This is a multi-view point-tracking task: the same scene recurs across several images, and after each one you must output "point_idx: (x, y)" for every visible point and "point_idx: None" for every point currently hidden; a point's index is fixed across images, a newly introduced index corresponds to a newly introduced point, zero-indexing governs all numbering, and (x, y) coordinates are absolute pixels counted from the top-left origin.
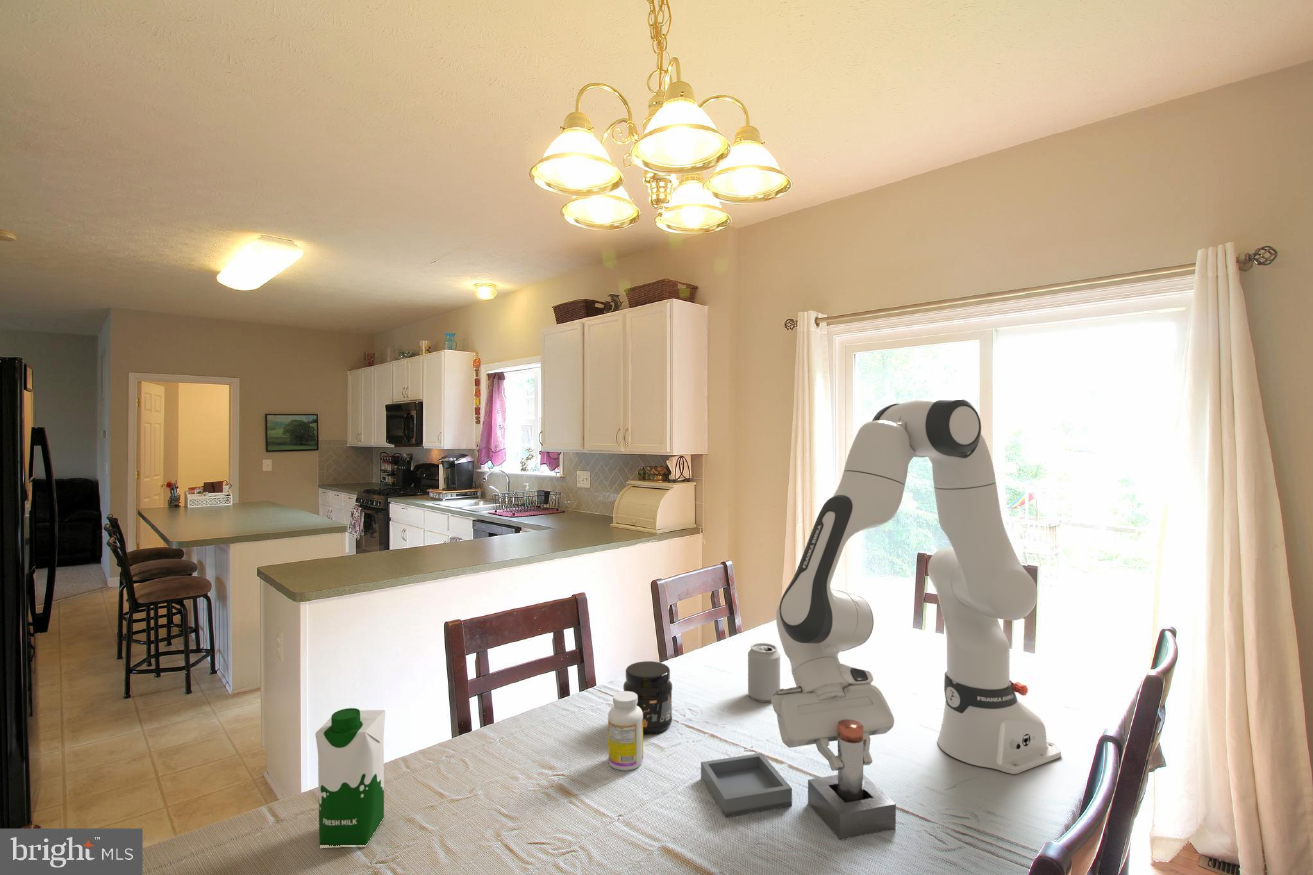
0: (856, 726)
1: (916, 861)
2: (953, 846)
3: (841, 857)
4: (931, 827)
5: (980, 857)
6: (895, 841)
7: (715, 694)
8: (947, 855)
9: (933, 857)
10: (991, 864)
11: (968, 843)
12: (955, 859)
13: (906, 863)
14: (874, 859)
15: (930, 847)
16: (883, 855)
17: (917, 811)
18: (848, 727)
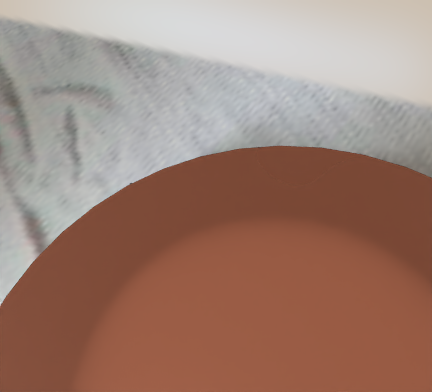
0: (171, 352)
1: (201, 70)
2: (58, 97)
3: (414, 133)
4: (48, 183)
5: (30, 47)
6: (200, 155)
7: None
8: (103, 71)
9: (144, 73)
10: (28, 22)
11: (11, 98)
12: (96, 54)
13: (233, 69)
14: (314, 102)
15: (121, 108)
16: (277, 111)
17: (23, 268)
18: (429, 380)
